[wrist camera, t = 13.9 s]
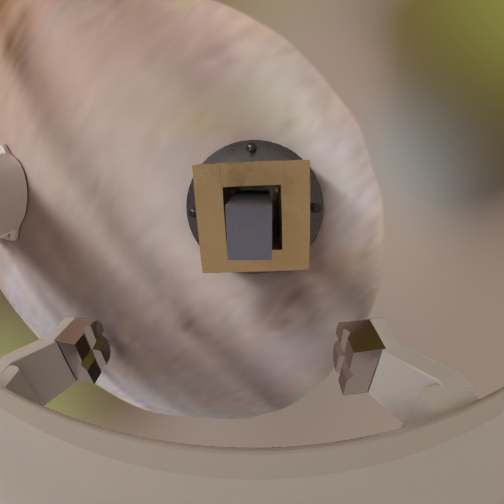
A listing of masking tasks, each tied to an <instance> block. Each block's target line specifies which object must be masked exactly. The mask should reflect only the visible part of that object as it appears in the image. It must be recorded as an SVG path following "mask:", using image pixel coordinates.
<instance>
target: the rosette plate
mask: <svg viewBox="0 0 504 504" xmlns="http://www.w3.org/2000/svg"><path fill="white" fill-rule="evenodd" d="M192 168H193V179H192V182H191V184H190V187H189V191H188V195H187V217H188V222H189V225H190V229H191V231H192V233H193V235H194V238H195V239H196V241H197V242H198V244H199V245H200V253H201V262H202V270H203V273H220V272H245V273H266V272H271V271H290V270H309V253H310V245H311V244H312V243H313V241H314V239H315V237H316V235H317V234H318V231H319V228H320V225H321V221H322V216H323V198H322V193H321V189H320V186H319V183H318V181H317V179H316V177H315V175H314V173H313V172H312V170H311V169H310V160H303V159H302V158H300V157H299V156H298V155H297V154H296V153H294V152H293V151H291V150H289V149H288V148H286V147H283V146H281V145H279V144H276V143H272V142H268V141H262V140H248V141H241V142H237V143H233V144H230V145H228V146H225V147H223V148H222V149H220V150H218V151H216V152H215V153H214V154H212V155H211V156H210V157H209V158H208V159H207V160H206V161H205V162H204V163H203V164H199V165H194V166H192ZM238 190H269V192H270V197H271V202H272V260H228V257H227V236H226V214H225V205H226V204H227V202H228V201H229V200H230V198H231V197H232V195H233V194H234V193H235V191H238Z"/></svg>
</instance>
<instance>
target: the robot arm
mask: <svg viewBox="0 0 504 504" xmlns="http://www.w3.org/2000/svg"><path fill="white" fill-rule="evenodd" d="M26 207H27V184H26V179H25V175H24V171H23V169H22V166H21V165H20V163H19V161H18V160H17V159H16V158H15V157H14V156H12V155H11V154H10V152H9V150H8V148H7V146H6V145H5V144H4V145H1V146H0V238H2V239H6V240H10V241H15V240H17V238H18V234H19V227H20V225H21V223H22V221H23V219H24V216H25V213H26ZM103 332H104V329H103V326H102V324H101V322H99V321H98V320H91V319H84V318H76V317H65V318H64V319H63V320H62V321H61V322H60V323H59V324H58V325H57V326H56V327H55V328H54V329H53V330H52V331H51V333H50V334H49V335H48V336H47V337H46V338H45V339H43V338H42V339H40V340H37V341H35V342H33V343H31V344H29V345H26V346H24V347H22V348H20V349H18V350H15V351H14V352H11V353H9V354H7V355H4V356H2V357H0V504H504V387H503V388H501V389H499V390H497V391H495V392H493V393H491V394H489V395H487V396H485V397H483V398H481V399H478V397H477V396H476V394H475V393H474V392H473V390H472V388H471V387H470V385H469V384H468V382H467V381H466V379H465V378H464V376H463V375H462V374H461V373H459V372H457V371H455V370H453V369H451V368H449V367H447V366H445V365H443V364H441V363H439V362H437V361H435V360H433V359H431V358H429V357H427V356H425V355H423V354H421V353H419V352H417V351H415V350H413V349H411V348H409V347H407V346H401V344H400V343H399V341H398V339H397V338H396V336H395V335H394V333H393V332H392V330H391V329H390V327H389V326H388V324H387V323H386V321H385V319H383V318H382V317H379V318H372V319H367V320H359V321H349V322H339V323H338V325H337V330H336V334H337V337H338V340H337V341H336V342H335V344H334V350H333V361H334V366H335V370H336V371H337V372H338V373H340V376H339V384H340V387H341V390H342V394H343V395H349V394H358V393H365V392H368V394H369V395H371V396H372V397H373V398H374V399H375V400H376V401H378V402H379V403H380V404H381V405H382V406H383V407H385V408H386V409H387V410H388V411H389V412H390V413H392V414H393V415H394V416H395V417H396V418H398V419H399V420H400V421H401V422H402V423H403V425H402V427H401V428H400V429H396V430H392V431H388V432H384V433H380V434H376V435H371V436H366V437H361V438H356V439H350V440H344V441H338V442H331V443H323V444H314V445H305V446H292V447H272V448H236V447H215V446H202V445H192V444H184V443H176V442H169V441H163V440H157V439H152V438H146V437H141V436H137V435H132V434H128V433H124V432H119V431H116V430H112V429H108V428H104V427H101V426H97V425H94V424H90V423H87V422H85V421H81V420H79V419H76V418H73V417H70V416H67V415H64V414H62V413H59V412H57V411H54V410H51V409H49V408H47V407H44V405H46V404H47V403H48V402H50V401H51V400H52V399H54V398H55V397H57V396H58V395H59V394H60V393H62V392H63V391H65V390H66V389H67V388H69V387H70V386H71V385H73V384H74V383H76V382H77V381H81V382H86V383H91V384H95V382H96V380H97V379H98V377H99V376H100V374H101V367H103V366H104V365H106V364H107V362H108V361H109V359H110V353H111V351H110V345H109V342H108V340H107V339H106V338H105V337H104V336H103ZM76 380H77V381H76Z"/></svg>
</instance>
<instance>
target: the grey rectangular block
mask: <svg viewBox="0 0 504 504" xmlns="http://www.w3.org/2000/svg"><path fill="white" fill-rule="evenodd" d="M225 214H226V236H227V257H228V260H272V202H271V197H270V192H269V190H238V191H235V193H234V194H233V195H232V197H231V198H230V200H229V201H228V202H227V204H226V205H225Z"/></svg>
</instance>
